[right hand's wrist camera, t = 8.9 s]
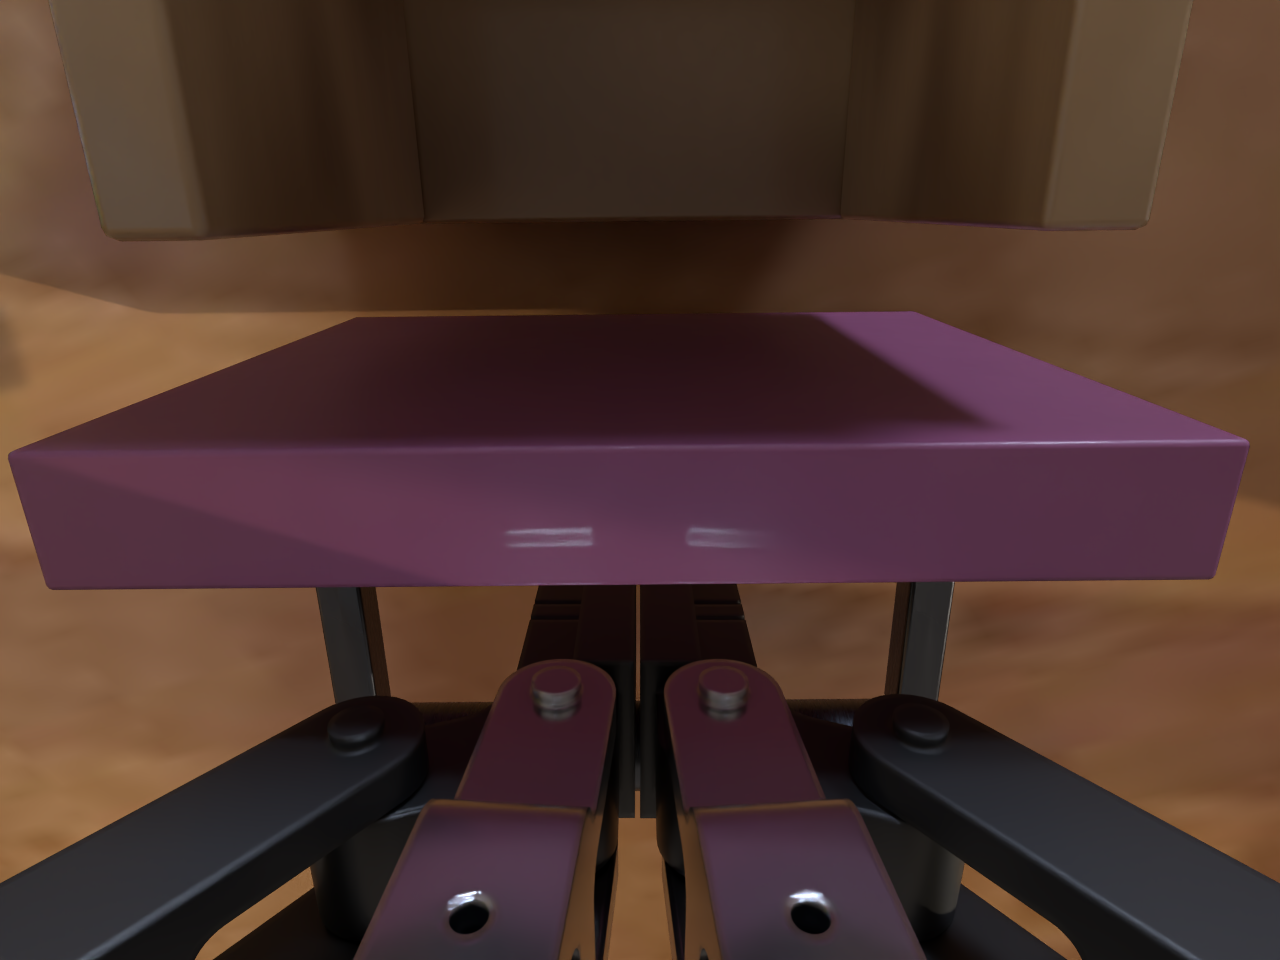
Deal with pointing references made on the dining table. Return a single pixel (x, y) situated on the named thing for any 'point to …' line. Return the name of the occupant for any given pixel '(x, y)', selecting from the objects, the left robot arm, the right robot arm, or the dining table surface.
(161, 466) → the drawer
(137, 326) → the dining table surface
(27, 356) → the dining table surface
